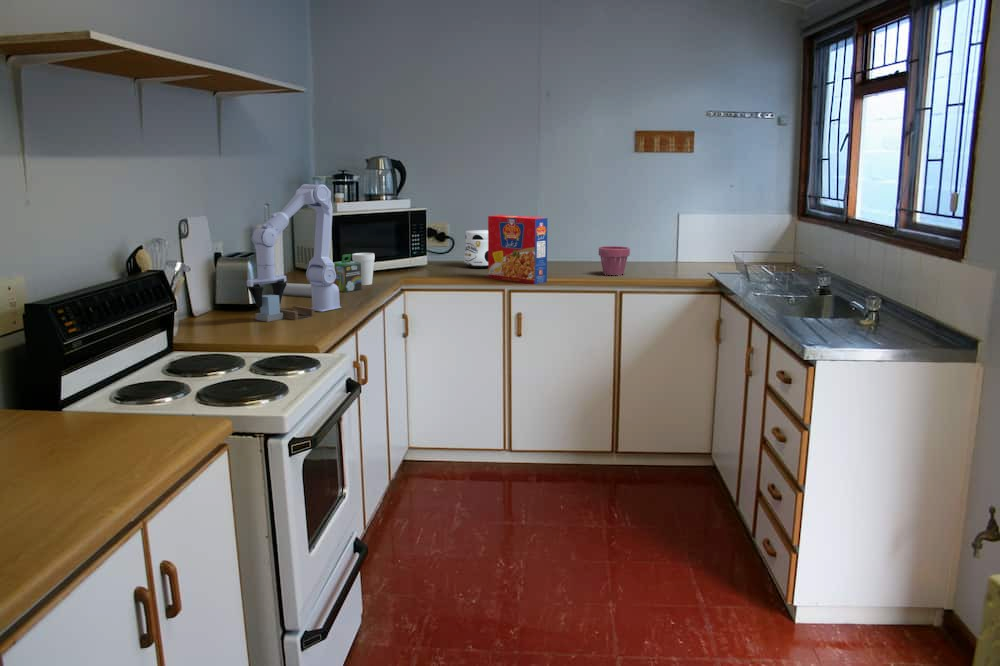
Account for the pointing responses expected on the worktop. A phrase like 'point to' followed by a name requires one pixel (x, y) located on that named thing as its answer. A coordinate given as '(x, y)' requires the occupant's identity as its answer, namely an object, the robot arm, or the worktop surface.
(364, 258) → the foam cup
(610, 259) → the plant pot
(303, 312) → the channel
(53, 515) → the worktop surface
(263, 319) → the stand
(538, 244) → the pasta box
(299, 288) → the tube
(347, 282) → the chalk box
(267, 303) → the block
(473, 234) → the milk container
